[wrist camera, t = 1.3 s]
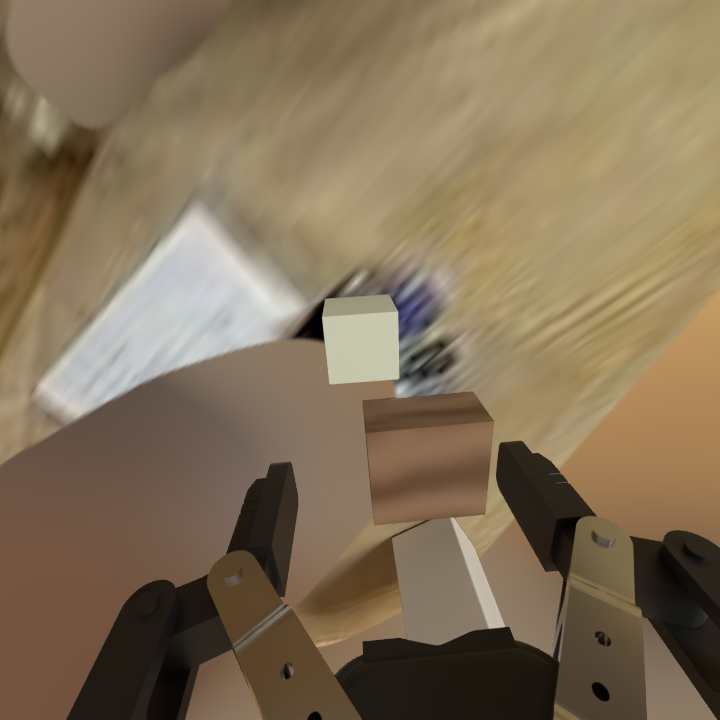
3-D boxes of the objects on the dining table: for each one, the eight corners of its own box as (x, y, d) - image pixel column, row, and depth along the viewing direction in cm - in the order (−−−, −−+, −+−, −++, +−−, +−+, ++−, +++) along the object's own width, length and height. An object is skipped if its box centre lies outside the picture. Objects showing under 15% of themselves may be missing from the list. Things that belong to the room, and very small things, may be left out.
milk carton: (420, 571, 41) (478, 842, 23) (390, 536, 38) (431, 812, 21) (474, 547, 39) (579, 814, 22) (448, 509, 37) (543, 779, 19)
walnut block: (362, 400, 31) (366, 433, 27) (471, 390, 31) (493, 421, 27) (370, 484, 35) (374, 525, 31) (466, 474, 35) (485, 514, 31)
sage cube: (325, 298, 27) (322, 317, 22) (388, 294, 27) (397, 311, 23) (331, 356, 29) (329, 384, 24) (390, 352, 29) (399, 378, 25)
